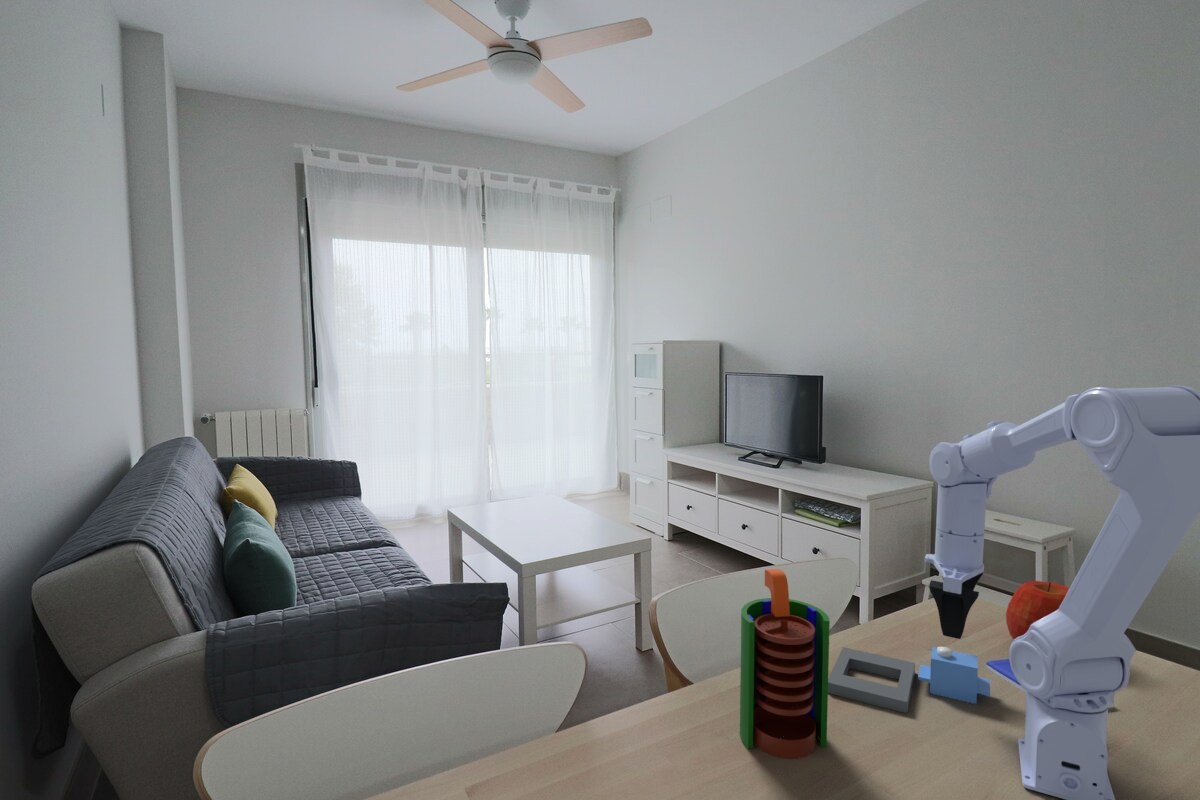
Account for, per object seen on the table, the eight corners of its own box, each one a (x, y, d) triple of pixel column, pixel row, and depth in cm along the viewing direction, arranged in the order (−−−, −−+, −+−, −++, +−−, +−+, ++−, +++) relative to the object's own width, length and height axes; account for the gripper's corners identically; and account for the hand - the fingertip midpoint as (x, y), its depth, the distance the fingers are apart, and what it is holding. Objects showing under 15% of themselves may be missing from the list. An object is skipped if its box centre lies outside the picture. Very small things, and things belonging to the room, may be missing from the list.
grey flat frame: (906, 713, 81) (907, 702, 81) (826, 692, 86) (826, 682, 86) (914, 672, 91) (915, 662, 91) (842, 656, 96) (842, 647, 96)
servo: (989, 707, 82) (991, 665, 82) (917, 690, 87) (918, 650, 86) (989, 693, 86) (990, 652, 85) (920, 677, 90) (921, 638, 90)
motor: (761, 766, 71) (762, 595, 70) (725, 722, 80) (725, 569, 78) (838, 750, 74) (840, 585, 72) (795, 709, 82) (796, 561, 81)
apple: (1040, 666, 93) (1043, 596, 92) (988, 634, 104) (990, 571, 103) (1106, 661, 94) (1110, 593, 93) (1048, 630, 105) (1051, 568, 104)
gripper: (933, 512, 93) (929, 599, 94) (919, 539, 81) (914, 638, 83) (989, 520, 89) (983, 611, 90) (982, 549, 77) (976, 653, 79)
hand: (954, 625), depth 86 cm, fingers open, 7 cm apart
